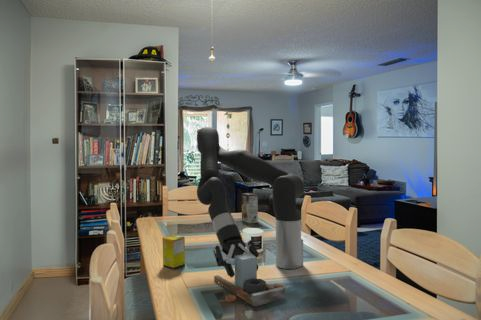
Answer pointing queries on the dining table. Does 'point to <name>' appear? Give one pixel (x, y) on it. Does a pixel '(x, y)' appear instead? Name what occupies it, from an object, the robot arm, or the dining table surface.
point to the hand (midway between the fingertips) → (244, 273)
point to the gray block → (245, 269)
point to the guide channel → (256, 298)
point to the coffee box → (249, 207)
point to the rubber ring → (254, 286)
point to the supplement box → (173, 251)
